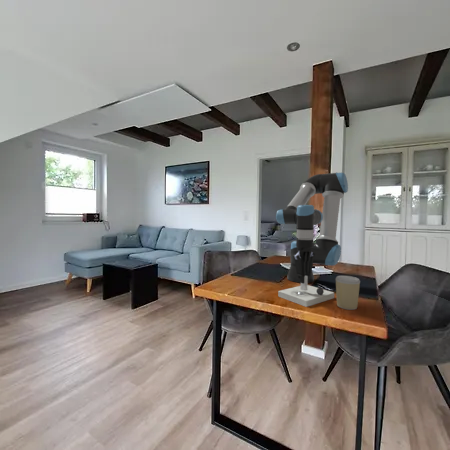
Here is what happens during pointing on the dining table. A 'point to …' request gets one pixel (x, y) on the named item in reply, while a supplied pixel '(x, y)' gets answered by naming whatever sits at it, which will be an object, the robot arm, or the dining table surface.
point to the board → (305, 295)
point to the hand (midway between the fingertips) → (303, 289)
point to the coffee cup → (347, 292)
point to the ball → (320, 291)
